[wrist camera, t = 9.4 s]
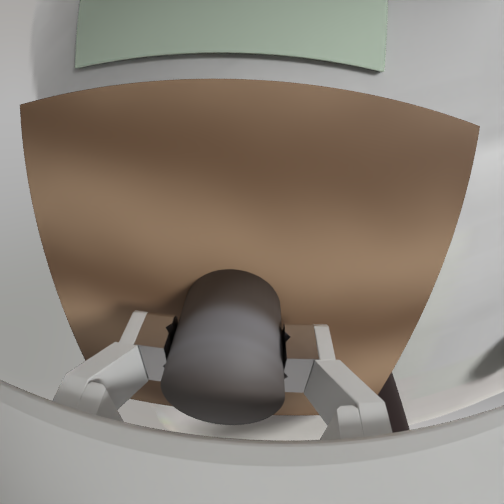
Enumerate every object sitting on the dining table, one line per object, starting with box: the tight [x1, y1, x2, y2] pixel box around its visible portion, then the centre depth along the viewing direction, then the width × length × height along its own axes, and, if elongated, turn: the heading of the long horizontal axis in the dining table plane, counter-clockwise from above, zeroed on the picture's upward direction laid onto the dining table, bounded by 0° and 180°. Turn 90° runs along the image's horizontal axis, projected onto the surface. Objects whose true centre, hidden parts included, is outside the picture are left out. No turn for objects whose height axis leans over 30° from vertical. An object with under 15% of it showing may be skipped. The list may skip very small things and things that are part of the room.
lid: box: [20, 79, 480, 425], centre depth 10 cm, size 16×16×5 cm
